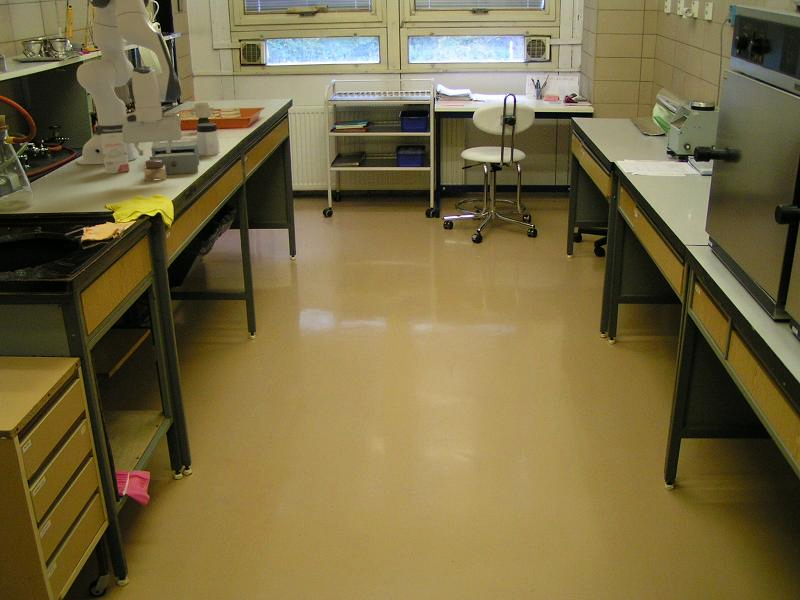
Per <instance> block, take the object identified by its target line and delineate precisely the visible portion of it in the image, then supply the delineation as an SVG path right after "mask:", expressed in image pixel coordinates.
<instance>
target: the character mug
mask: <svg viewBox="0 0 800 600" xmlns="http://www.w3.org/2000/svg"><path fill="white" fill-rule="evenodd" d="M193 105H194V107H190V114H191V115H193V116H194V115H195V117H196V118H198V120H197V124H202V123H211V122H210V119H209V118H210V117H211V115H215V107H214V106H211V105H210V102H196V103H194V104H193ZM194 111H195V112H194Z"/></svg>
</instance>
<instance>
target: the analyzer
mask: <svg viewBox="0 0 800 600" xmlns="http://www.w3.org/2000/svg"><path fill="white" fill-rule="evenodd" d="M172 142H173V143H172V145H171V148H170V151H171V153H186V152H194V154H196V155H197V165H198V166H199V165H200V155H199V148H198V139H197V138H185V139H184V138H183V139H182V138H181V139H180V140H172ZM169 145H170V144H169V143H168V141H156V142H152V144H151V147H150V149H151V150H150V151H151V157H153V156H156V154H170V153H166V148H168V147H169Z"/></svg>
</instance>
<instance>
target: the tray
mask: <svg viewBox="0 0 800 600" xmlns="http://www.w3.org/2000/svg"><path fill="white" fill-rule="evenodd" d="M153 159H161V160H163V165H165V167H166V175H174V174H187V173H188V174H189V173H191V174H192V173H199V165H197V155H196V154H194V152H186V153H170V154H156V156H153V157H152V156H149V160H153Z"/></svg>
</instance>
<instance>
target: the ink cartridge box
mask: <svg viewBox="0 0 800 600" xmlns="http://www.w3.org/2000/svg"><path fill="white" fill-rule="evenodd" d="M100 136H101V146H102V152H103V159H104V164H103V165H104V170H105V174H114V173H113V172H119V173H124V172H123V171H129V172H130V165H129V161H128V157H127V150H126V144H125V143H124V142H123V137H122V132H121V133H107V134H101V135H100ZM109 136H116V138H108V137H109Z"/></svg>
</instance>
